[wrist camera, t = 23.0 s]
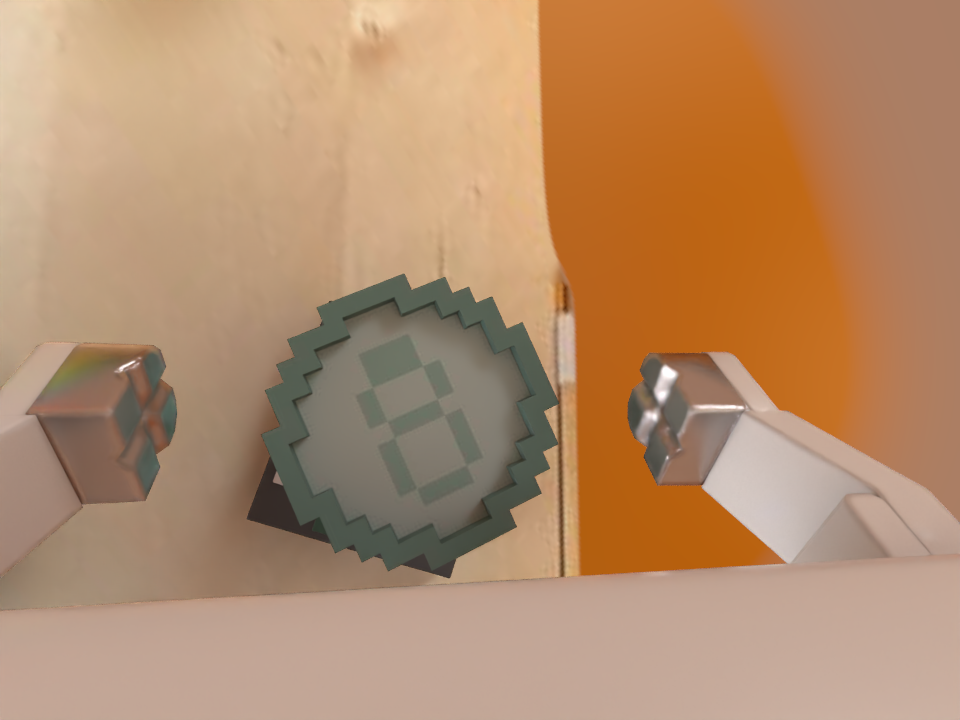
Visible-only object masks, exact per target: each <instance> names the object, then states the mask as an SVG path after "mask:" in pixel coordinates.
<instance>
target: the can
mask: <svg viewBox="0 0 960 720" xmlns="http://www.w3.org/2000/svg"><path fill="white" fill-rule="evenodd" d="M317 310H318V312H319V314H320V317H321V319H322V321H323V323H324V325H323V326H320V327H318V328H315V329H312V330H310V331H307V332H305V333H302V334H300V335H297V336H295V337H292V338H290V339H287V340H288V342H289V345H290V347H291V349H292V351H293V354H294V356H295V357H294V358H291V359H289V360H287V361H284V362H282V363H279V364H277V368H278V370H279V372H280V375H281V377H282V379H283V382H284V383H281V384H279V385H277V386H274V387H272V388H269V389H267V390H265V392H266V394H267V396H268V399H269V401H270V403H271V406H272V408H273V410H274V413H275V415H276V417H277V420H278V422H279V424H280V427H277V428H275V429H273V430H271V431H268V432H266V433H264V434H261V435H262V438H263V440H264V442H265V445H266V447H267V449H268V452H269V454H270V456H271V459H272V461H273V463H274V466H275V468H276V470H277V473H278V475H279V477H280V480H281V482H282V484H283V487H284V489H285V491H286V494H287V496H288V498H289V501H290V503H291V505H292V507H293V510H294V512H295V514H296V517H297V519H298V521H299V524H300V526H301V525H303V524H305V523H308V522H310V521H312V520H314V519H316V518H318V517H320V519H321V522H322V524H323V526H324V529H325V531H326V533H327V536H328V538H329V540H330V542H331V545H332V547H333V549H334V552H335V553H337V552H339V551H341V550H343V549H345V548H347V547H349V546H351V545H353V544H354V546H355V548H356V550H357V553H358V555H359V557H360V559H361V562H364V561H366V560H368V559H370V558H372V557H374V556H376V555H378V554H381V556H382V559H383V561H384V563H385V566H386V568H387V570H388V571H390V570H392V569H394V568H396V567H398V566H400V565H402V564H404V563H405V562H407V561H409V560H411V559H413V558H415V557H417V556H419V555H421V554H423V553H424V554H425V557H426V559H427V561H428V564H429V566H430V568H431V570H432V571H433V570H435V569H437V568H438V567H440V566H442V565H444V564H446V563H448V562H450V561H452V560H454V559H456V558H458V557H460V556H462V555H464V554H466V553H468V552H469V551H471V550H473V549H475V548H477V547H479V546H481V545H483V544H485V543H487V542H489V541H491V540H493V539H495V538H497V537H499V536H500V535H502V534H504V533H506V532H508V531H510V530H512V529H514V528H516V527H517V526H516V524H515V522H514V519H513V517H512V515H511V513H510V509H512V508H514V507H516V506H518V505H520V504H522V503H524V502H526V501H528V500H530V499H532V498H534V497H536V496H538V495H540V494H541V491H540V488H539V486H538V484H537V482H536V479H535V477H534V476H536V475H538V474H540V473H542V472H544V471H546V470H548V469H550V467H549V465H548V463H547V460H546V458H545V456H544V454H543V451H545V450H547V449H549V448H552V447H554V446H556V445H558V442H557V440H556V438H555V435H554V433H553V431H552V429H551V426H550V424H549V422H548V420H547V418H546V415H545V413H544V411H545V410H547V409H549V408H551V407H553V406H555V405H557V404H559V402H558V400H557V398H556V395H555V393H554V391H553V389H552V387H551V384H550V382H549V380H548V378H547V375H546V373H545V371H544V369H543V367H542V364H541V362H540V360H539V358H538V355H537V353H536V351H535V349H534V347H533V344H532V342H531V340H530V338H529V335H528V333H527V331H526V329H525V327H524V324H523V322H522V323H519V324H517V325H515V326H512V327H510V328H508V329H507V328H506V326H505V324H504V322H503V320H502V317H501V315H500V313H499V311H498V308H497V306H496V304H495V302H494V300H493V297H489V298H487V299H485V300H482V301H480V302H477V303H476V302H475V300H474V297H473V295H472V293H471V291H470V288H469V287H467V288H464V289H462V290H459V291H457V292H454V293H452V291H451V289H450V287H449V285H448V282H447V280H446V278H445V277H443V278H441V279H438V280H436V281H433V282H431V283H428V284H426V285H423V286H421V287H418V288H416V289H413V290H411V287H410V285H409V283H408V281H407V278H406V276H405V274H402V275H399V276H396V277H394V278H391V279H389V280H386V281H384V282H381V283H378V284H376V285H373V286H371V287H368V288H366V289H363V290H360V291H358V292H355V293H353V294H350V295H348V296H345V297H342V298H340V299H337V300H335V301H332V302H330V303H327V304H325V305H322V306H319V307H317Z"/></svg>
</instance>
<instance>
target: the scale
mask: <svg viewBox="0 0 960 720" xmlns="http://www.w3.org/2000/svg"><path fill="white" fill-rule="evenodd" d="M330 302H332V301H329V303H330ZM323 325H324V323H323V321H322V322H321V324H320V326H323ZM247 519H248V520H251V521H255V522H258V523H261V524H265V525H268V526H272V527H275V528H279V529H282V530H285V531H289V532H292V533H296V534H299V535H303V536H306V537H309V538H313V539H316V540H320V541H323V542H326V543H330V544H331V542H330V540H329V538H328V536H327V533H326V531H325V529H324V526H323V524H322V522H321V519H320V517H318V518H316V519H314V520H312V521H310V522H308V523H305V524H303V525H301V526H300V524H299V521H298V519H297V517H296V514H295V512H294V510H293V507H292V505H291V503H290V501H289V498H288V496H287V494H286V491H285V489H284V487H283V484H282V482H281V480H280V477H279V475H278V473H277V470H276V468H275V466H274V463H273V461H272V459H271V456H270V458H269V461H268V464H267V466H266V469H265V471H264V474H263V477H262V479H261V482H260V485H259V487H258V490H257V492H256V495H255V498H254V500H253V503H252V506H251V508H250V511H249V513H248V516H247ZM347 549H350V550H354V551H357V550H356V548H355V546H354V544H353V545H351V546H349V547H347ZM374 557H378V558H381V559H382V556H381V554H378V555H376V556H374ZM455 561H456V559H454V560H452V561H450V562H448V563H446V564H444V565H442V566H440V567H438V568H437V569H435V570H433V571H432V570H431V568H430V566H429V564H428V561H427V559H426V557H425V554H424V553H423V554H421V555H419V556H417V557H415V558H413V559H411V560H409V561H407V562H405V563H404V564H402V565H405V566H409V567H412V568H415V569H419V570H422V571H426V572H429V573H433V574H436V575H439V576H443V577H446V578H450V577H451V574H452V570H453V567H454V564H455Z"/></svg>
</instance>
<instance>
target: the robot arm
mask: <svg viewBox="0 0 960 720" xmlns="http://www.w3.org/2000/svg"><path fill="white" fill-rule="evenodd" d="M165 368H166V365H165V362H164V359H163V356H162V353H161V350H160V349H159V348H157V347H156V346H154V345H137V344H108V343H69V342H46V343H43V344H40V345H37V346H36V347H35V349H34V350H33V351H32V352H31V353H30V355H29V356H28V357H27V358H26V359H25V360H24V362H23V363H22V364H21V365H20V366H19V368H18V369H17V370H16V371H15V372H14V374H13V375H12V376H11V377H10V378H9V379H8V381H7V382H6V383H5V384H4V385H3V387H2V388H1V389H0V578H1V577H2V576H3V575H5V574H6V573H7V572H8V571H9V570H10V569H12V568H13V567H14V566H15V565H16V564H17V563H19V562H20V561H21V560H22V559H23V558H24V557H26V556H27V555H28V554H29V553H30V552H31V551H33V550H34V549H35V548H36V547H37V546H38V545H40V544H41V543H42V542H43V541H44V540H45V539H47V538H48V537H49V536H50V535H51V534H52V533H54V532H55V531H56V530H57V529H58V528H60V527H61V526H62V525H63V524H64V523H65V522H67V521H68V520H69V519H70V518H71V517H72V516H74V515H75V514H76V513H77V512H78V511H79V510H81V509H82V508H83V506H82V504H101V503H119V502H137V501H146V499H147V496H148V494H149V492H150V489H151V487H152V485H153V482H154V480H155V478H156V475H157V473H158V471H159V468H160V465H159V462H158V459H157V456H156V454H158V453H159V452H160V451H162V450H163V449H165V448H166V447H167V446H169V444H170V442H171V439H172V437H173V434H174V432H175V425H176V418H177V407H176V399H175V395H174V392H173V388H172V387H170V386H169V385H168V384H167V383H165V382H164V381H163V380H162V379H160V378H161V376H162V374H163V372H164V370H165ZM640 372H641V374H642V377H643V379H644V380H643V381H642V382H641V383H639V384H638V385H637V386H636V387H635V388H633V389H632V393H631V396H630V398H629V402H628V421H629V426H630V429H631V431H632V433H633V436H634V438H635V439H636V440H638V441H639V442H640V443H642V444H643V445H644V446H646V447H647V449H646V452H645V454H644V459H645V461H646V463H647V465H648V467H649V469H650V471H651V473H652V475H653V477H654V479H655V481H656V483H657V485H702V488H703V489H704V490H705V491H706V492H707V493H708V494H709V495H711V496H712V497H713V498H714V499H715V500H716V501H717V502H718V503H720V504H721V505H722V506H723V507H724V508H725V509H726V510H728V511H729V512H730V513H731V514H732V515H733V516H734V517H735V518H737V519H738V520H739V521H740V522H741V523H742V524H743V525H745V526H746V527H747V528H748V529H749V530H750V531H751V532H752V533H754V534H755V535H756V536H757V537H758V538H759V539H760V540H761V541H763V542H764V543H765V544H766V545H767V546H768V547H769V548H770V549H772V550H773V551H774V552H775V553H776V554H777V555H778V556H780V557H781V558H782V559H783V560H784V561H785V562H786V563H787V564H772V565H754V566H739V567H738V566H737V567H721V568H704V569H687V570H671V571H654V572H638V573H621V574H605V575H589V576H572V577H556V578H539V579H522V580H506V581H489V582H472V583H455V584H438V585H421V586H404V587H387V588H370V589H353V590H336V591H319V592H303V593H286V594H269V595H252V596H236V597H219V598H202V599H185V600H169V601H152V602H135V603H118V604H102V605H85V606H68V607H51V608H35V609H18V610H1V611H0V720H960V522H959V521H958V520H957V519H956V518H955V517H954V516H953V515H952V514H951V513H950V512H949V511H948V510H947V509H946V508H945V507H944V506H943V505H942V503H941V502H940V501H939V500H938V499H937V498H936V497H935V496H934V495H933V494H932V493H931V492H930V491H929V490H928V489H926V488H925V487H923V486H921V485H919V484H917V483H916V482H914V481H912V480H910V479H909V478H907V477H905V476H903V475H901V474H900V473H898V472H896V471H894V470H892V469H891V468H889V467H887V466H885V465H883V464H882V463H880V462H878V461H876V460H875V459H872V458H871V457H869V456H867V455H866V454H864V453H862V452H860V451H858V450H857V449H855V448H853V447H851V446H850V445H848V444H846V443H844V442H842V441H841V440H839V439H837V438H835V437H833V436H831V435H830V434H828V433H826V432H824V431H823V430H821V429H819V428H817V427H815V426H814V425H812V424H810V423H808V422H806V421H805V420H803V419H801V418H799V417H797V416H796V415H794V414H792V413H790V412H789V411H779V410H778V409H777V407H776V406H775V405H774V403H773V402H772V401H771V400H770V398H769V397H768V396H767V395H766V394H765V392H764V391H763V390H762V389H761V387H760V386H759V385H758V384H757V382H756V381H755V380H754V379H753V377H752V376H751V375H750V374H749V373H748V371H747V370H746V369H745V368H744V366H743V365H742V364H741V363H740V361H739V360H738V359H737V358H736V357H735V356H734V355H732V354H730V353H728V352H702V353H649V354H648V355H647V356H646V358H645V359H644V361H643V363H642V366H641V368H640Z"/></svg>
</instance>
